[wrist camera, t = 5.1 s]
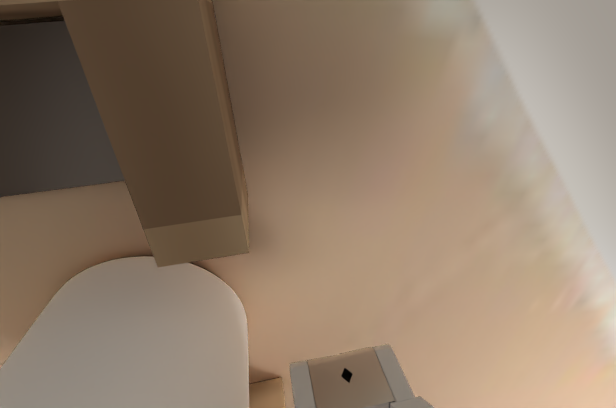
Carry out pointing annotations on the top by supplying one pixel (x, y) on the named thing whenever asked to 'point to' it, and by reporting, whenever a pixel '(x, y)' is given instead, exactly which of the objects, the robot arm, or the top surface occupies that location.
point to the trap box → (129, 121)
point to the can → (133, 342)
